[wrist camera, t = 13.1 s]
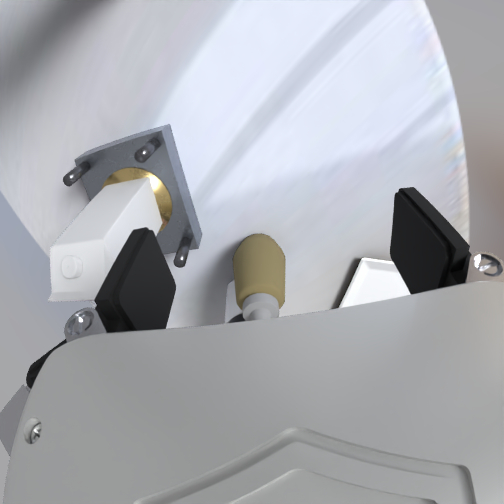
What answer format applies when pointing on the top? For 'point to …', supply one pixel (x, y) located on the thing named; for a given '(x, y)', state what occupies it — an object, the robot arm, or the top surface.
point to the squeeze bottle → (259, 277)
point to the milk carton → (100, 238)
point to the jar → (232, 306)
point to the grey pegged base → (162, 179)
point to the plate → (374, 283)
